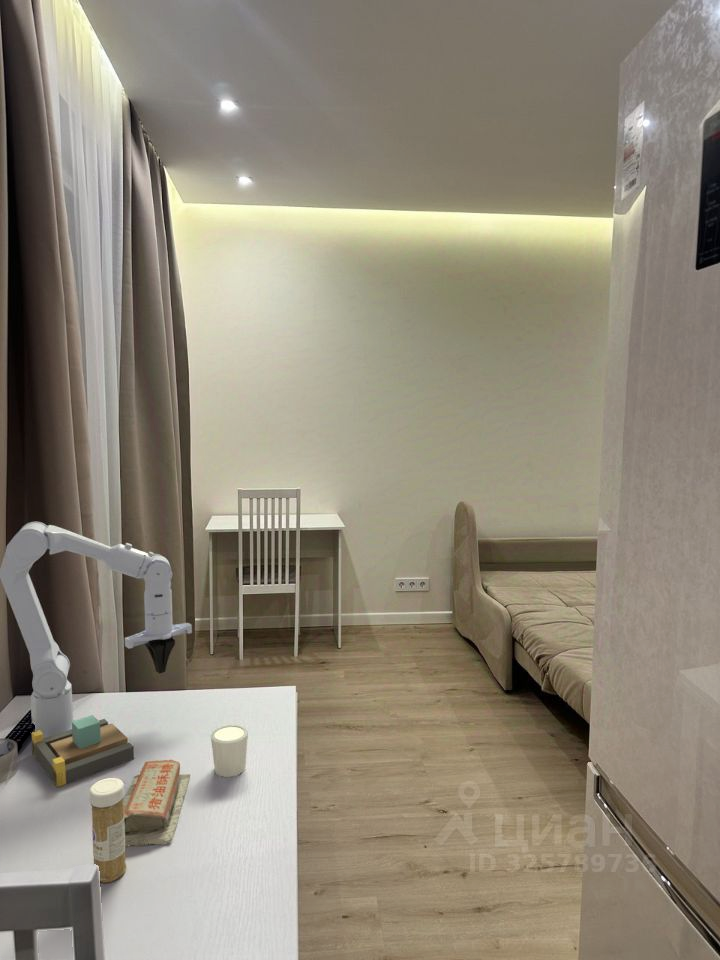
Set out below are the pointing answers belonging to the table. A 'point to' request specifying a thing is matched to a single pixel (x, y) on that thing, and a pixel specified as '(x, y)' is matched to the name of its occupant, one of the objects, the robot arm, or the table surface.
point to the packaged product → (154, 803)
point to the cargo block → (86, 731)
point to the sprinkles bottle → (108, 828)
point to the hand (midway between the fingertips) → (160, 671)
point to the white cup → (229, 750)
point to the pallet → (72, 753)
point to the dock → (79, 768)
